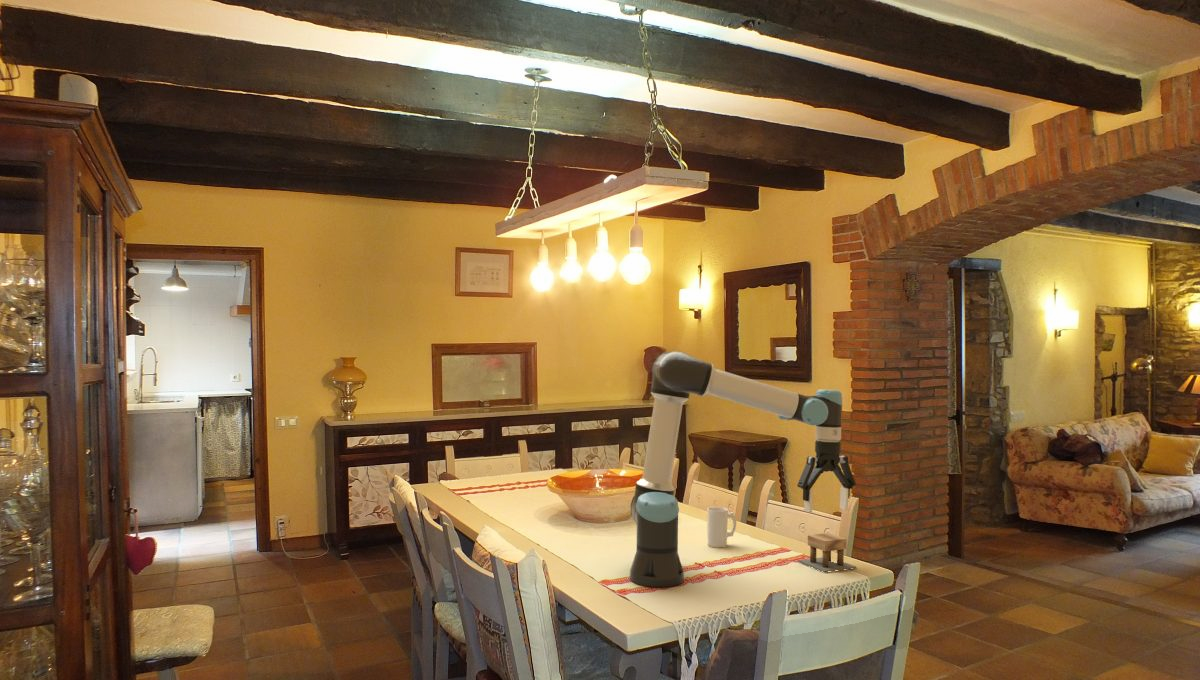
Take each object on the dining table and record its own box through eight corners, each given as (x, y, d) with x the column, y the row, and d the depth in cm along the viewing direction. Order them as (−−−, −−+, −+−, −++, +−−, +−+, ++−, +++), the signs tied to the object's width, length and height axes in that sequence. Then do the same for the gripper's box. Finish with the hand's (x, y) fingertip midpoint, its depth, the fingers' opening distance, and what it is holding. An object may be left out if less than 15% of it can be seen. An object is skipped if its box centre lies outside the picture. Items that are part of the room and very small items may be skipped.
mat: (824, 572, 223) (824, 570, 223) (798, 562, 234) (798, 560, 234) (856, 568, 227) (856, 566, 227) (829, 558, 238) (829, 556, 238)
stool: (824, 568, 225) (825, 541, 225) (807, 561, 233) (807, 535, 233) (846, 565, 228) (846, 538, 228) (828, 558, 236) (828, 532, 236)
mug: (710, 548, 249) (711, 511, 249) (704, 543, 255) (704, 507, 256) (739, 547, 251) (740, 510, 251) (732, 542, 257) (732, 506, 258)
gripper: (802, 442, 223) (800, 515, 222) (868, 441, 232) (867, 510, 232) (786, 439, 230) (784, 510, 229) (851, 438, 239) (849, 505, 239)
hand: (826, 510), depth 231 cm, fingers open, 13 cm apart
